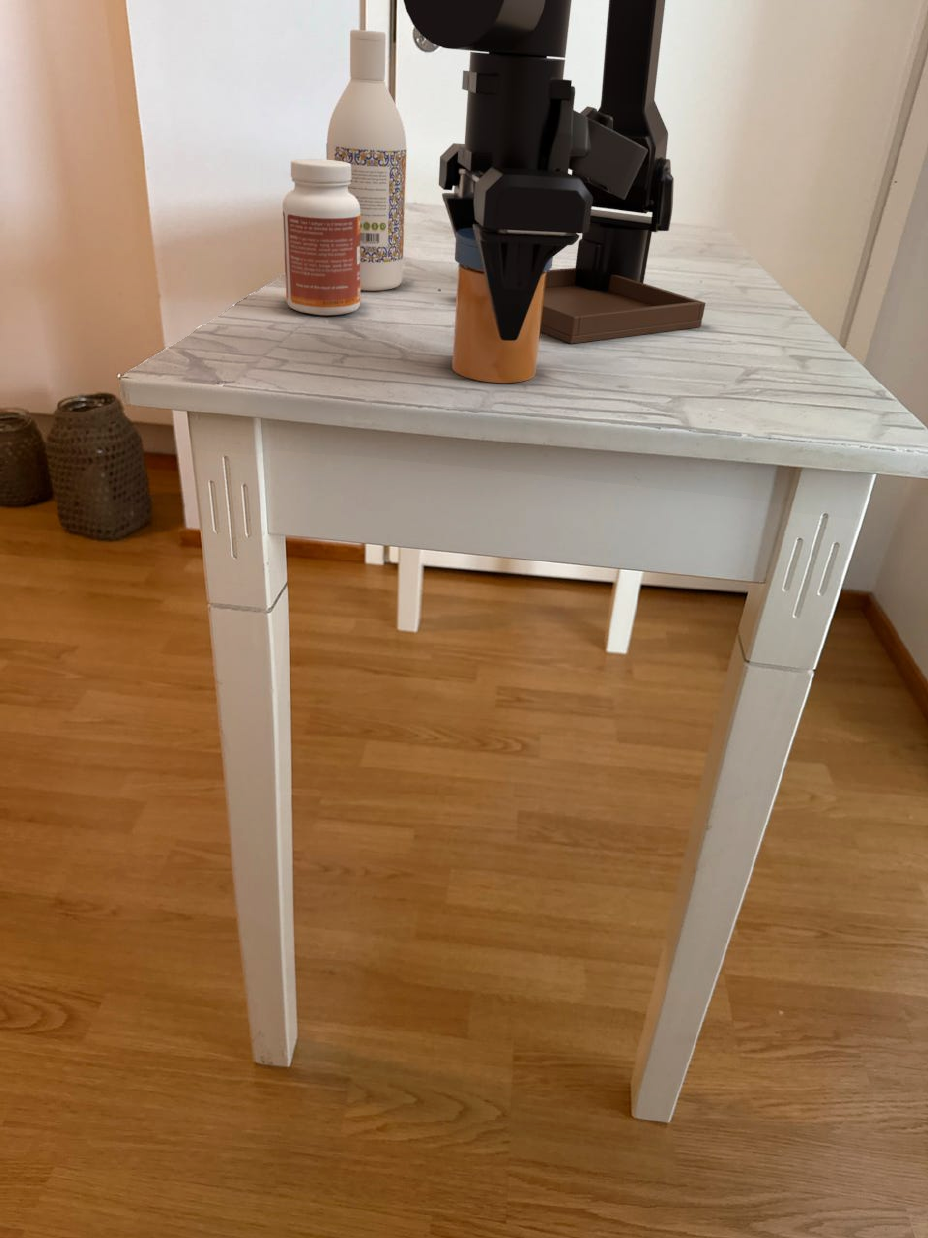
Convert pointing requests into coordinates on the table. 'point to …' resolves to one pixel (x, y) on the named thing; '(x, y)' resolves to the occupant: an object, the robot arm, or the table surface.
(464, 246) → the lid
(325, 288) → the pill bottle
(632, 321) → the tray
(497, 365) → the jar
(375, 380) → the table surface
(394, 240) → the bath foam
